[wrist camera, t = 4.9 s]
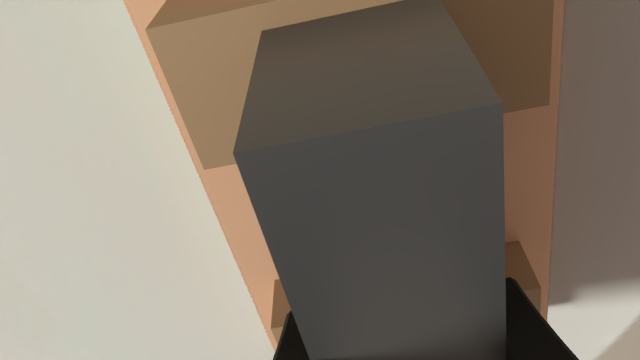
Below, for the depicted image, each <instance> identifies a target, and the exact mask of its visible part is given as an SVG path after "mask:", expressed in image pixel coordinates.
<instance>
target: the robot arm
mask: <svg viewBox="0 0 640 360" xmlns="http://www.w3.org/2000/svg"><path fill="white" fill-rule="evenodd" d="M273 360H310V359H309V356H308V354H307V351H306V348H305V346H304V343H303V340H302V338H301V335H300V332H299V330H298V327H297V324H296V321H295V319H294V316H293V313H292V311H289V313H288V314H287V315H286V318H285V322H284V326H283V329H282V333H281V336H280V339H279V343H278V346H277V349H276V352H275V355H274V358H273ZM506 360H579V359H578V358H577V357H576V356H575V355H574V354H573V352H572V351H571V350H570V349H569V348H568V347H567V346H566V344H565V343H564V342H563V341H562V340H561V339H560V337H559V336H558V335H557V334H556V333H555V331H554V330H553V329H552V328H551V326H550V325H549V324H548V323H547V322H546V320H545V319H544V318H543V317H542V315H541V314H540V313H539V311H538V310H537V309H536V308H535V306H534V305H533V304H532V302H531V301H530V300H529V298H528V297H527V295H526V294H525V293H524V291H523V290H522V288H521V287H520V285H519V284H518V282H517V281H516V280H515V279H513V278H511V277H508V278H506Z"/></svg>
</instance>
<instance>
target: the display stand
mask: <svg viewBox="0 0 640 360" xmlns="http://www.w3.org/2000/svg"><path fill="white" fill-rule="evenodd" d="M123 1H124V3H125V5H126V7H127V10H128V12H129V14H130V17H131V19H132V21H133V24H134V26H135V28H136V31H137V33H138V35H139V38H140V40H141V42H142V45H143V47H144V49H145V52H146V54H147V56H148V59H149V61H150V63H151V66H152V68H153V70H154V72H155V75H156V77H157V79H158V82H159V84H160V86H161V89H162V91H163V93H164V96H165V98H166V100H167V103H168V105H169V107H170V110H171V112H172V114H173V117H174V119H175V121H176V124H177V126H178V128H179V131H180V133H181V135H182V138H183V140H184V142H185V144H186V147H187V149H188V151H189V154H190V156H191V158H192V161H193V163H194V165H195V168H196V170H197V172H198V175H199V177H200V179H201V182H202V184H203V186H204V189H205V191H206V193H207V196H208V198H209V200H210V203H211V205H212V207H213V210H214V212H215V214H216V216H217V219H218V221H219V223H220V226H221V228H222V230H223V233H224V235H225V237H226V240H227V242H228V244H229V247H230V249H231V251H232V254H233V256H234V258H235V261H236V263H237V265H238V268H239V270H240V272H241V275H242V277H243V279H244V281H245V284H246V286H247V288H248V291H249V293H250V295H251V298H252V300H253V302H254V305H255V307H256V309H257V312H258V314H259V316H260V319H261V321H262V323H263V326H264V328H265V330H266V333H267V335H268V337H269V340H270V342H271V344H272V347H273V349H274V351H275V352H276V349H277V346H278V343H279V339H280V336H281V333H282V329H283V326H284V322H285V318H286V315H287V314H288V313H289V311H291V308H290V305H289V303H288V300H287V297H286V295H285V292H284V289H283V287H282V284H281V281H280V279H279V276H278V273H277V271H276V268H275V265H274V263H273V260H272V257H271V254H270V252H269V249H268V246H267V244H266V241H265V238H264V236H263V233H262V230H261V228H260V225H259V222H258V220H257V217H256V214H255V212H254V209H253V206H252V204H251V201H250V198H249V195H248V193H247V190H246V187H245V185H244V182H243V179H242V177H241V174H240V171H239V169H238V166H237V163H236V161H235V158H234V155H233V150H234V146H235V142H236V138H237V133H238V129H239V125H240V121H241V116H242V112H243V108H244V104H245V99H246V95H247V91H248V87H249V82H250V78H251V74H252V70H253V65H254V61H255V57H256V53H257V48H258V44H259V40H260V36H261V31H263V30H268V29H272V28H277V27H282V26H286V25H291V24H296V23H300V22H305V21H310V20H314V19H319V18H324V17H328V16H333V15H338V14H342V13H347V12H351V11H356V10H361V9H365V8H370V7H375V6H379V5H384V4H389V3H393V2H398V1H403V0H123ZM441 1H442V3H443V4H444V6H445V8H446V9H447V11H448V13H449V14H450V16H451V18H452V19H453V21H454V23H455V24H456V26H457V28H458V29H459V31H460V32H461V34H462V36H463V37H464V39H465V41H466V42H467V44H468V46H469V47H470V49H471V51H472V52H473V54H474V56H475V57H476V59H477V60H478V62H479V64H480V65H481V67H482V69H483V70H484V72H485V74H486V75H487V77H488V79H489V80H490V82H491V84H492V85H493V87H494V88H495V90H496V92H497V93H498V95H499V97H500V98H501V100H502V102H503V131H504V203H505V275H506V278H508V277H511V278H513V279H515V280H516V281H517V282H518V284H519V285H520V287H521V288H522V290H523V291H524V293H525V294H526V295H527V297H528V298H529V300H530V301H531V302H532V304H533V305H534V306H535V308H536V309H537V310H538V311H539V313H540V314H541V315H542V317H543V318H544V319H545V320H546V322H547V312H548V294H549V276H550V258H551V240H552V222H553V204H554V186H555V168H556V150H557V132H558V114H559V96H560V78H561V60H562V42H563V24H564V6H565V0H441Z"/></svg>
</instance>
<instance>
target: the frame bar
mask: <svg viewBox="0 0 640 360" xmlns="http://www.w3.org/2000/svg"><path fill="white" fill-rule="evenodd" d="M233 155H234V158H235V161H236V163H237V166H238V169H239V171H240V174H241V177H242V179H243V182H244V185H245V187H246V190H247V193H248V195H249V198H250V201H251V204H252V206H253V209H254V212H255V214H256V217H257V220H258V222H259V225H260V228H261V230H262V233H263V236H264V238H265V241H266V244H267V246H268V249H269V252H270V254H271V257H272V260H273V263H274V265H275V268H276V271H277V273H278V276H279V279H280V281H281V284H282V287H283V289H284V292H285V295H286V297H287V300H288V303H289V305H290V308H291V311H292V313H293V316H294V319H295V321H296V324H297V327H298V330H299V332H300V335H301V338H302V340H303V343H304V346H305V348H306V351H307V354H308V356H309V359H310V360H506V275H505V203H504V131H503V102H502V100H501V98H500V97H499V95H498V93H497V92H496V90H495V88H494V87H493V85H492V84H491V82H490V80H489V79H488V77H487V75H486V74H485V72H484V70H483V69H482V67H481V65H480V64H479V62H478V60H477V59H476V57H475V56H474V54H473V52H472V51H471V49H470V47H469V46H468V44H467V42H466V41H465V39H464V37H463V36H462V34H461V32H460V31H459V29H458V28H457V26H456V24H455V23H454V21H453V19H452V18H451V16H450V14H449V13H448V11H447V9H446V8H445V6H444V4H443V3H442V1H441V0H403V1H398V2H393V3H389V4H384V5H379V6H375V7H370V8H365V9H361V10H356V11H351V12H347V13H342V14H338V15H333V16H328V17H324V18H319V19H314V20H310V21H305V22H300V23H296V24H291V25H286V26H282V27H277V28H272V29H268V30H263V31H261V36H260V40H259V44H258V48H257V53H256V57H255V61H254V65H253V70H252V74H251V78H250V82H249V87H248V91H247V95H246V99H245V104H244V108H243V112H242V116H241V121H240V125H239V129H238V133H237V138H236V142H235V146H234V150H233Z"/></svg>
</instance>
